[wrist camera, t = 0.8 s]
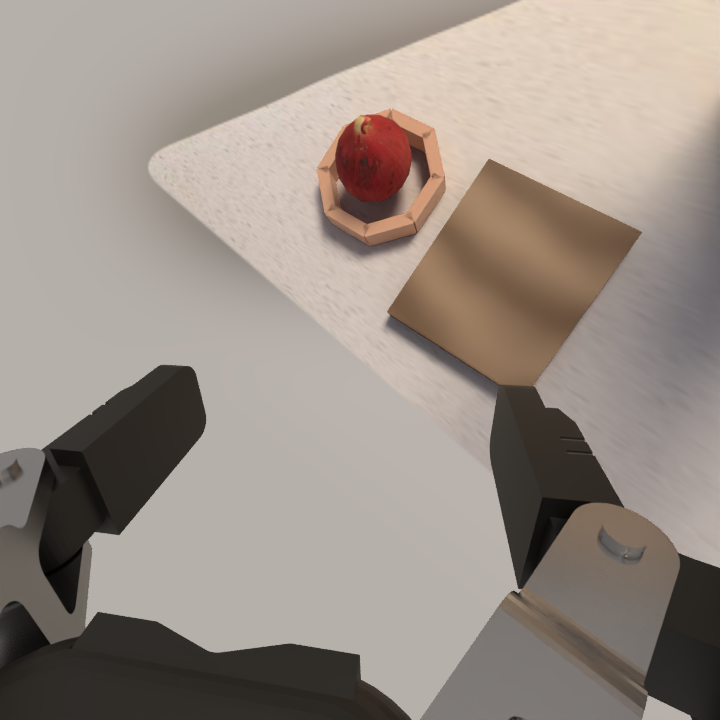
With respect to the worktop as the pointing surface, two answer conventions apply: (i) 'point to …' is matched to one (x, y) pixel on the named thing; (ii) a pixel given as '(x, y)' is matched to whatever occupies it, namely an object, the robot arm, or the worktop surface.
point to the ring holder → (400, 224)
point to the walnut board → (511, 275)
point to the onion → (373, 158)
